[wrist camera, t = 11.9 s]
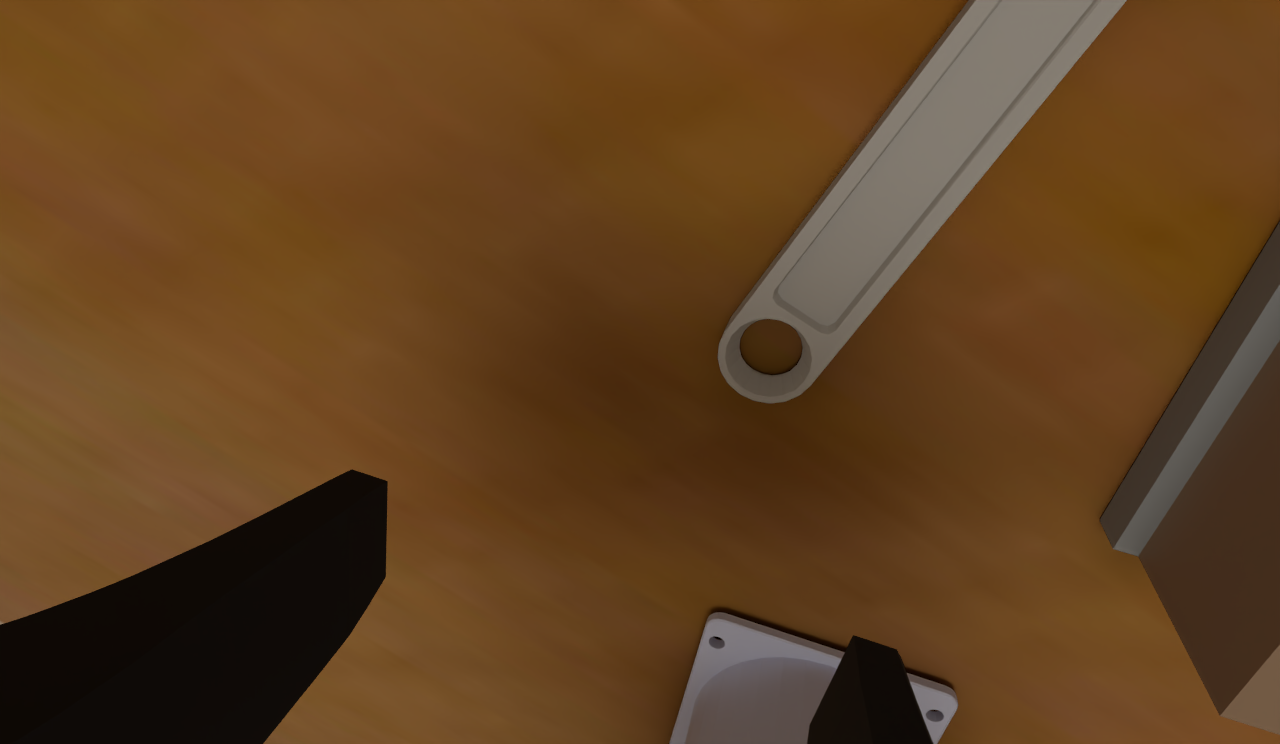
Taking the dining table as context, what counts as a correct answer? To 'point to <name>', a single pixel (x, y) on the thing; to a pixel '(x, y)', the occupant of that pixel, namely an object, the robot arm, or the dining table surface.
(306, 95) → the dining table surface
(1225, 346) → the stand
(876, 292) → the adjustable wrench
